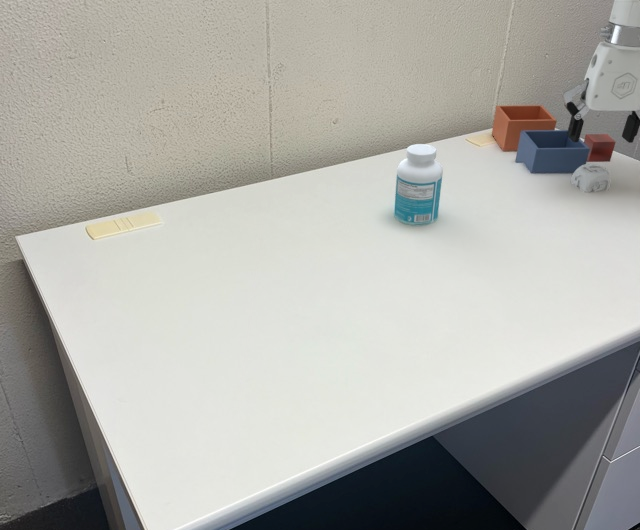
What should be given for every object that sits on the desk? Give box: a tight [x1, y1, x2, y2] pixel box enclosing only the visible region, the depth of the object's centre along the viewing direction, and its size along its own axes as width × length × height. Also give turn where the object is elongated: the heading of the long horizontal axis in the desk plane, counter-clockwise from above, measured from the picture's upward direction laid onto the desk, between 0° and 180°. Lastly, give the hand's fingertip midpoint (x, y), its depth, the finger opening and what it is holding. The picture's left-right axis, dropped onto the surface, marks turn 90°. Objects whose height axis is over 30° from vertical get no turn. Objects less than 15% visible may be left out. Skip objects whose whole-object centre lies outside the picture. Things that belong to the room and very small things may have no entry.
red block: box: [583, 133, 616, 163], centre depth 127 cm, size 4×4×4 cm
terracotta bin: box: [491, 104, 558, 152], centre depth 134 cm, size 10×10×7 cm
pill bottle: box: [393, 143, 444, 227], centre depth 101 cm, size 8×7×14 cm
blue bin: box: [514, 129, 590, 174], centre depth 121 cm, size 10×10×7 cm
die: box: [570, 163, 612, 193], centre depth 113 cm, size 5×5×5 cm
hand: (600, 139), depth 108 cm, fingers open, 9 cm apart
